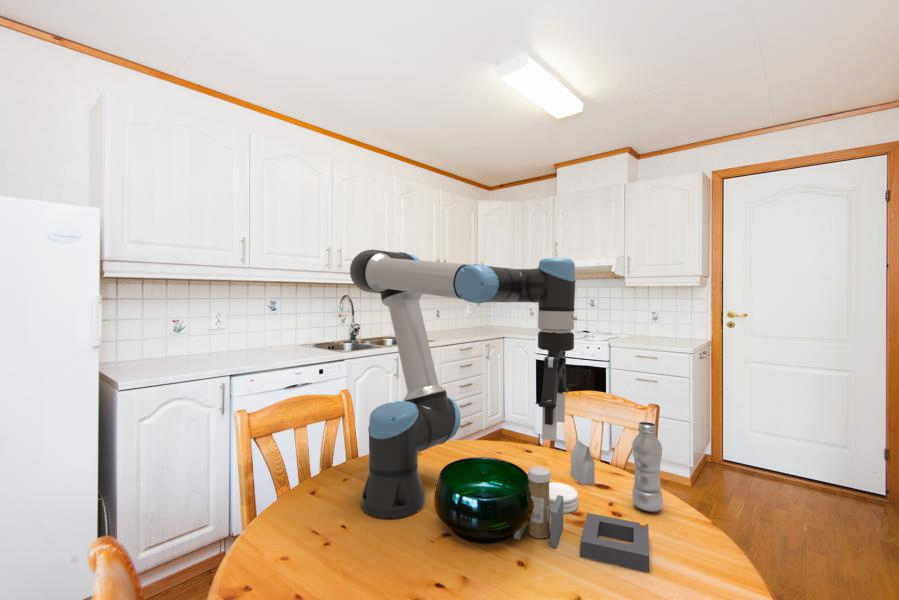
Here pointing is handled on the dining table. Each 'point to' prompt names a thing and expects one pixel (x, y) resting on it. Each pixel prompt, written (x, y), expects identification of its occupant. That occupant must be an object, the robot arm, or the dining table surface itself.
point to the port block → (614, 550)
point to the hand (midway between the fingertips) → (554, 430)
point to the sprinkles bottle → (539, 502)
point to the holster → (555, 523)
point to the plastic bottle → (647, 469)
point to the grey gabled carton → (582, 464)
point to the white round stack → (568, 496)
